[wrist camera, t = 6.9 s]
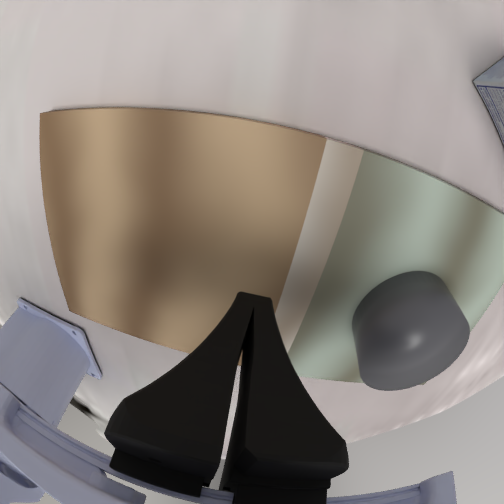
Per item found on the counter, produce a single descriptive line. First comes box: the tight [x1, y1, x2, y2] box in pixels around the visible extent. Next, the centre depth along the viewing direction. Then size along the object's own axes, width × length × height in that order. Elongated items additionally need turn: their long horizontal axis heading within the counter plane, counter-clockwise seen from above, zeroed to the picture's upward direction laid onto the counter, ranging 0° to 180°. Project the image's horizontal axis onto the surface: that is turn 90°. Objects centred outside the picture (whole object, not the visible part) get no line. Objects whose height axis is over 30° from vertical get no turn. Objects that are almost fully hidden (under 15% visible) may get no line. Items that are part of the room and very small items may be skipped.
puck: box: [352, 271, 470, 391], centre depth 12 cm, size 6×6×3 cm
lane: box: [40, 107, 504, 385], centre depth 13 cm, size 28×14×1 cm, turn 80°
